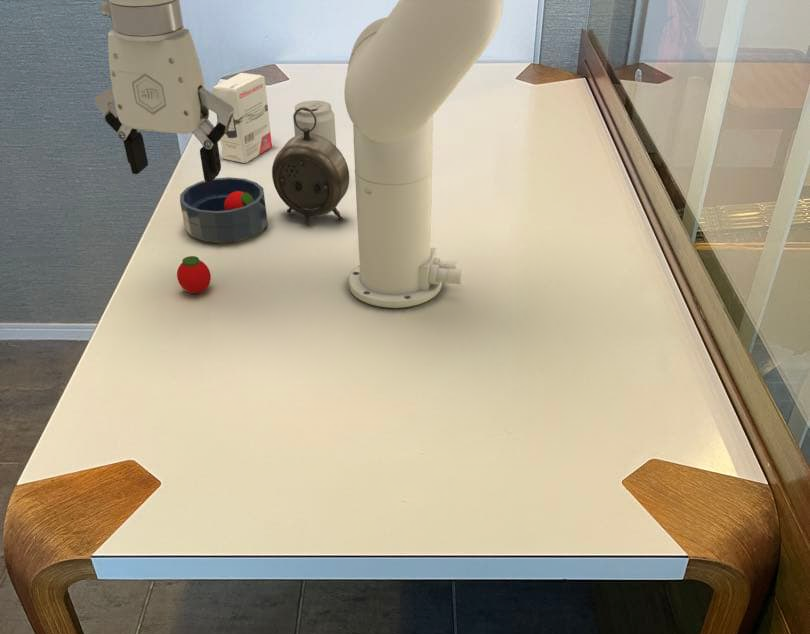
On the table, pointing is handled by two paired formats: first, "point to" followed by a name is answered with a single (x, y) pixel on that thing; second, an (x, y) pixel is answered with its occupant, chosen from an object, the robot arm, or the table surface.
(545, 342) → the table surface
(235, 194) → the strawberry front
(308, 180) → the alarm clock
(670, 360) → the table surface
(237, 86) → the ink box
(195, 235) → the bowl
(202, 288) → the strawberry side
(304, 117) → the beverage can
